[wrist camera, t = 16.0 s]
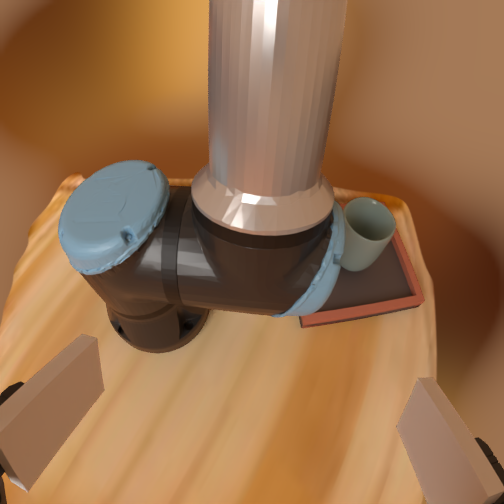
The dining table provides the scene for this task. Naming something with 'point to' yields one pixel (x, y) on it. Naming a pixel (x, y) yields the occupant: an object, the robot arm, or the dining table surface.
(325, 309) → the tray
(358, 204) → the cup
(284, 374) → the dining table surface
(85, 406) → the robot arm
